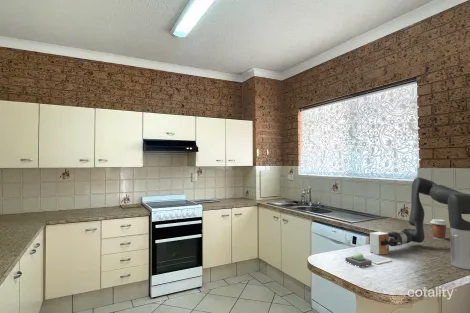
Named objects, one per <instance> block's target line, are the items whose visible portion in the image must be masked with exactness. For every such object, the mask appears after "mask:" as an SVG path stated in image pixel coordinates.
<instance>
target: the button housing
mask: <svg viewBox="0 0 470 313" xmlns="http://www.w3.org/2000/svg"><path fill="white" fill-rule="evenodd" d="M344 259H345V261H347V262H349V263H348V264H350V263H351V264H350V265H352V264H354V265H353V266H355V265H356V267H357V266H359V267H358V268H363V267H362V266H364V267H367V266H366V265H368V266H371V265H372V264H373V263H372V260H369V259H366V258H363V261H357V260H354V259H353V255H352V256H348V257H345V258H344ZM347 262H346V263H347Z"/></svg>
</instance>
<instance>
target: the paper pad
mask: <svg viewBox="0 0 470 313" xmlns="http://www.w3.org/2000/svg"><path fill="white" fill-rule="evenodd" d="M369 254H370V255H367V254H366V255H367V256H363V258H366V259H369V260H372V264H374V265H377V266H378V265H382V264H385V263H386V264H387V263H389V262H392V261H393V260H392V259H391V258H390V259H389V258H387V257H383V256H380V255H377V254H374V253H369Z"/></svg>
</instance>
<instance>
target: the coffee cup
mask: <svg viewBox="0 0 470 313" xmlns="http://www.w3.org/2000/svg"><path fill="white" fill-rule="evenodd" d="M429 223H430V224H431V232H432V233H431V234H432V239H435V240H439V241H445V240H446V232H447V226H448V222H446V220H445V219H440V218H433V219H431V220H430V221H429Z"/></svg>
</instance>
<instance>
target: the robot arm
mask: <svg viewBox="0 0 470 313" xmlns="http://www.w3.org/2000/svg"><path fill="white" fill-rule="evenodd" d="M420 194H422V195H425V196H430V197H431V199H432V200H434V201H435V202H438V203H439V204H442V205H446V206H447V211H448V221H449V240H450V242H449V244H450V246H449V248H450V265H452V266H453V267H455V268H459V269H463V270H469V271H470V221H468V220H466V219H464V218H463V216H462V215H470V194H469V193H465V192H460V191H458V190H456V189H453V188H451V187H449V186H445V185H442V184H438V183H436V182H434V181H432V180H430V179H427V178H423V177H419V176H418V177H416V178H414V179H413V182H412V183H411V194H410V195H411V196H410V197H411V206H410V213H409V218H408V224H409V225H411V226H413V227H415V229H413V228H404V229H402V230H400V231H399V230H397V231H396V230H395V231H388V232H387V233H388V234H389V240H387V241H386V240H385V241H381V245H382V246H384V245H389V247H397V246H398V247H399V246H402V245H405V244H409V243H411V242H414V243H419V244H421V243H423V242H424V240H425V231H424V220H425V209H424V206H423V205H422V203H421V199H420Z"/></svg>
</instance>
